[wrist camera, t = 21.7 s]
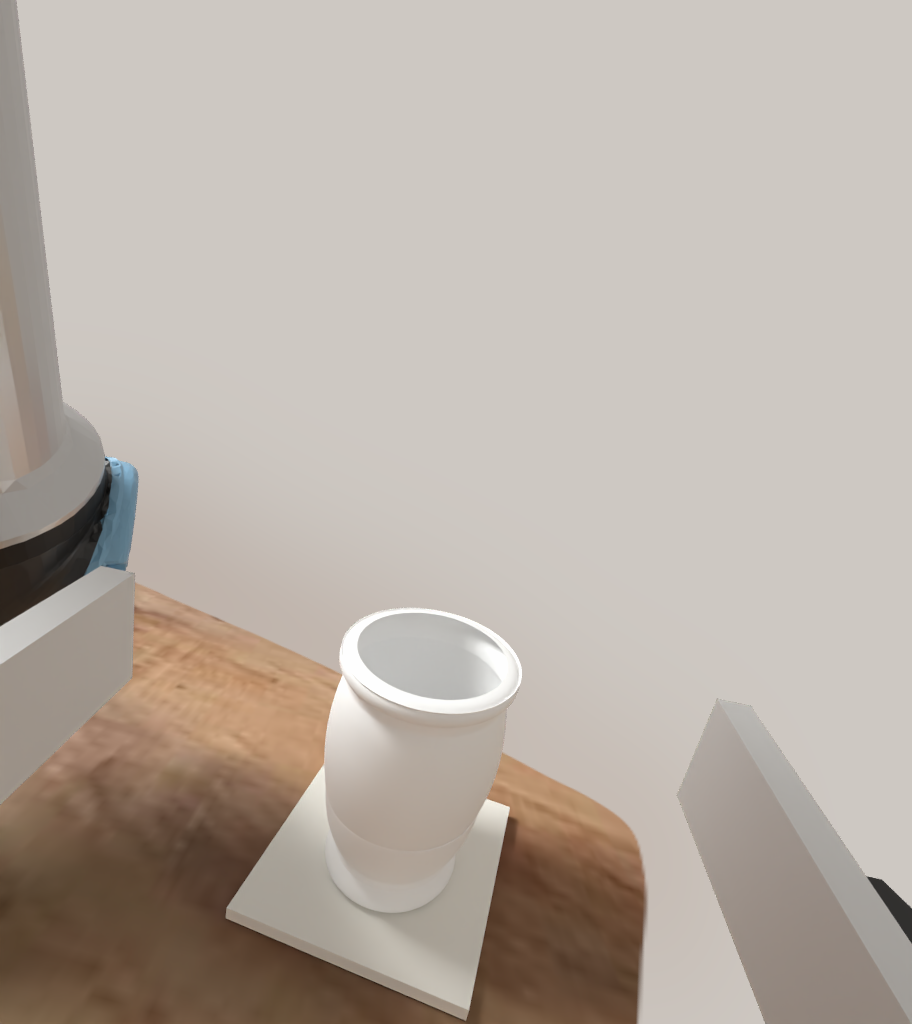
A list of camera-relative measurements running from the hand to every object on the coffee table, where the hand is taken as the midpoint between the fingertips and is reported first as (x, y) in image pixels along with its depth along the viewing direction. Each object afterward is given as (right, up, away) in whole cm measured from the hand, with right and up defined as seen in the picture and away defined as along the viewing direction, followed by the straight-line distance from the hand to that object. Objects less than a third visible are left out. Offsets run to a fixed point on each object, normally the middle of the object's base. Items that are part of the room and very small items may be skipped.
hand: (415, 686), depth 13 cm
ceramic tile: (-4, -19, +24) cm, 31 cm away
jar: (-3, -18, +24) cm, 30 cm away
